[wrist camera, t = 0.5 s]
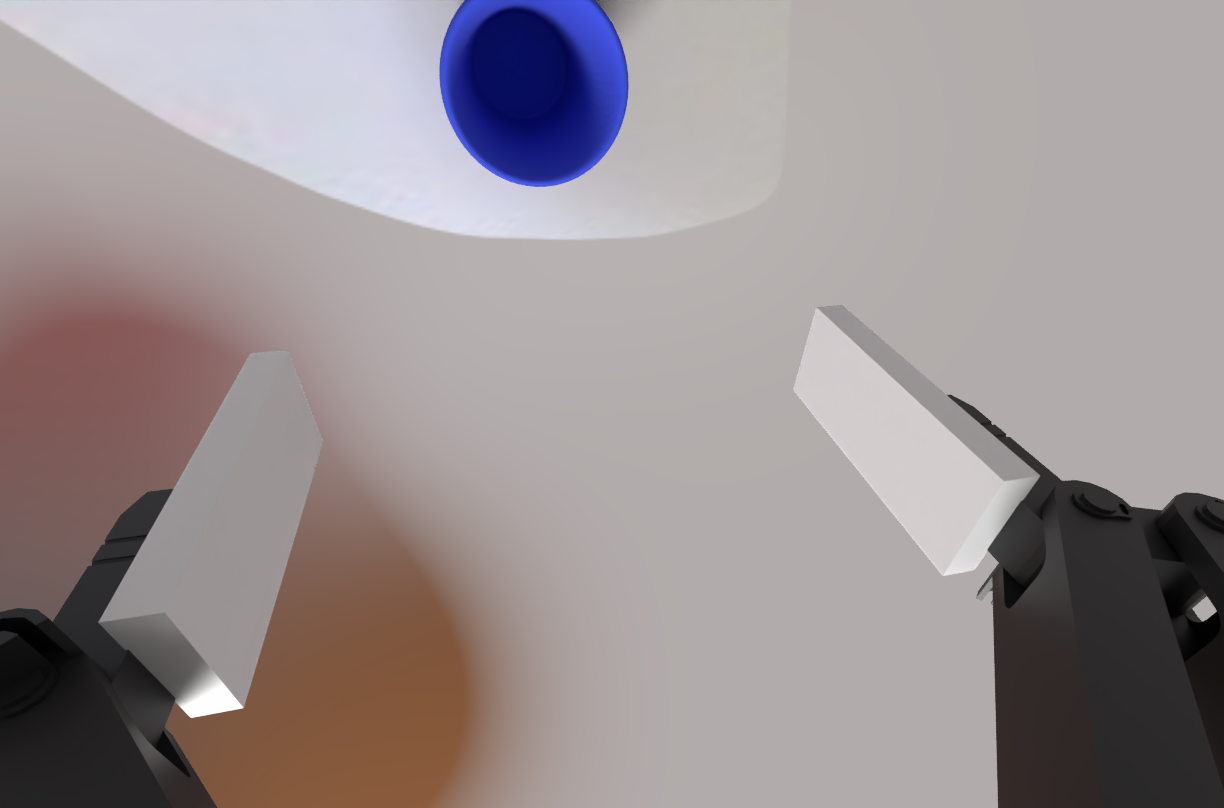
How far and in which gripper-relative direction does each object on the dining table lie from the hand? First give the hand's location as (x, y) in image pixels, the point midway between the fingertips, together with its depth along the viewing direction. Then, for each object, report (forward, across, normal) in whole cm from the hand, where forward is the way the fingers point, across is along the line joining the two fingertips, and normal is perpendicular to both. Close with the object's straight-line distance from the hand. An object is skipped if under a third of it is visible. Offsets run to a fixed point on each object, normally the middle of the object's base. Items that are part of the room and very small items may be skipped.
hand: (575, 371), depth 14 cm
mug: (+26, +1, +6) cm, 27 cm away
